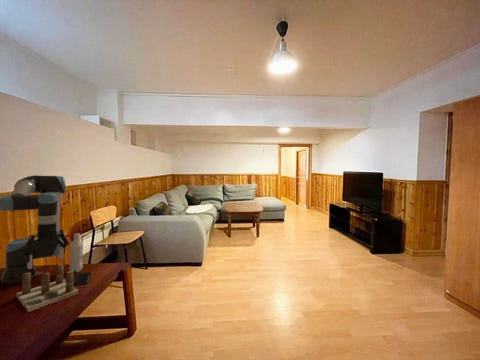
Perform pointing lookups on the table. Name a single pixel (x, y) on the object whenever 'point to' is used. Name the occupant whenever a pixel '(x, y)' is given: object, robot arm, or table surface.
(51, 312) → the table surface
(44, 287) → the hinged leg
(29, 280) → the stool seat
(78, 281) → the phone
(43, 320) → the table surface
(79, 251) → the water bottle
